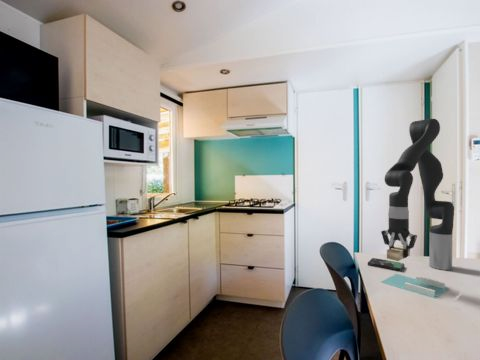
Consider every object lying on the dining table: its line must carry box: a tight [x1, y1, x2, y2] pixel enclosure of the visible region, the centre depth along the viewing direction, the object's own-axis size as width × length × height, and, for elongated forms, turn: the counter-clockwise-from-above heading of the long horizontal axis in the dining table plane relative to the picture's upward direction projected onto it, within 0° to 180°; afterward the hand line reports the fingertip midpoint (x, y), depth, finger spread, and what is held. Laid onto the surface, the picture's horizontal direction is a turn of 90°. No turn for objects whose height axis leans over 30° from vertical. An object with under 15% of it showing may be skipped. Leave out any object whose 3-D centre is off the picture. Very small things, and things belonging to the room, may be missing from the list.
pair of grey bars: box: [405, 275, 446, 297], centre depth 109 cm, size 13×10×2 cm
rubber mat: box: [380, 273, 450, 300], centre depth 112 cm, size 16×20×1 cm
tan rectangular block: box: [386, 245, 411, 262], centre depth 117 cm, size 12×4×4 cm, turn 128°
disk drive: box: [367, 257, 405, 273], centre depth 136 cm, size 10×3×15 cm
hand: (398, 256), depth 117 cm, fingers closed on tan rectangular block, 4 cm apart
